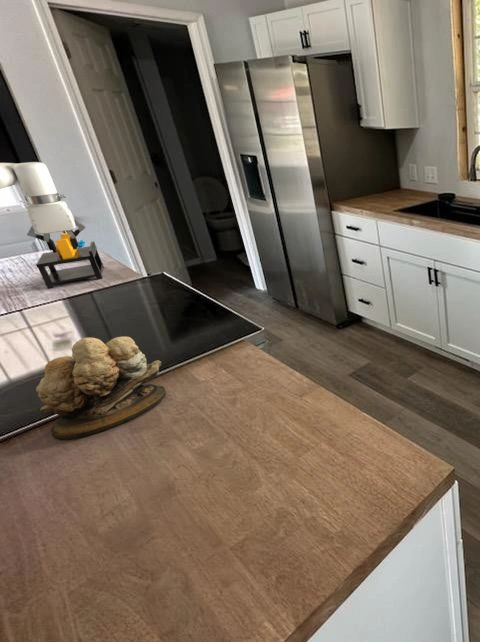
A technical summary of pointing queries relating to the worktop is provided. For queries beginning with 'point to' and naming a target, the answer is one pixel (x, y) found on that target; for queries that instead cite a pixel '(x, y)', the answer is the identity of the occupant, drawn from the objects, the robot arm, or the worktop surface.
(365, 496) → the worktop surface
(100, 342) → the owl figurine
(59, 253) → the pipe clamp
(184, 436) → the worktop surface
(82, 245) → the gear
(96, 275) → the rack
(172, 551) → the worktop surface
